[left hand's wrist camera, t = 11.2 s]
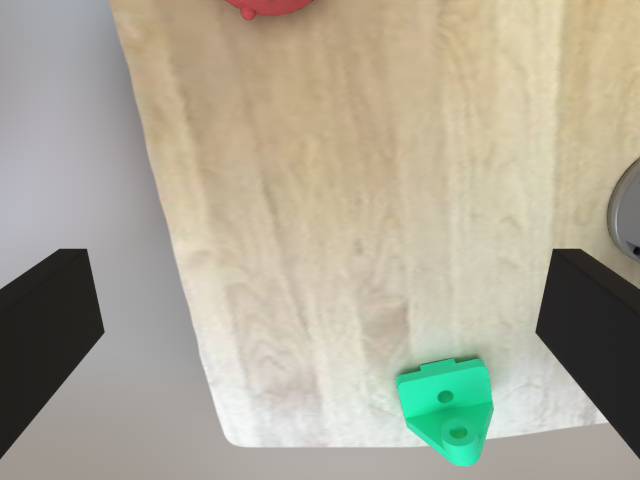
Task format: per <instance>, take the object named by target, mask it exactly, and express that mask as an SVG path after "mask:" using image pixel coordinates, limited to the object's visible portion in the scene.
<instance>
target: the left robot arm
mask: <svg viewBox="0 0 640 480" xmlns="http://www.w3.org/2000/svg"><path fill="white" fill-rule="evenodd" d="M607 221H608V229H609V232H610V235H611V238H612V240H613V241H614V243H615V244H616V246H617V247H618V248H619V249H620V250H621V251H622V252H623V253H625V254H626V255H628V256H629V257H631V258H633V259H634V260H636V261H638V262H639V263H640V159H639V160H637V161H636V162H635V163H634V164H633V165H632V166H631V167H630V168H629V169H628V170H627V172H626V173H625V174H624V175H623V177H622V178H621V179H620V181H619V182H618V184H617V186H616V188H615V190H614V192H613V194H612V197H611V200H610V203H609V207H608V216H607ZM535 333H536V334H537V335H538V336H539V337H540V339H541V340H542V341H543V342H544V344H545V345H546V346H547V347H548V348H549V350H550V351H551V352H552V353H553V354H554V356H555V357H556V358H557V359H558V361H559V362H560V363H561V364H562V365H563V367H564V368H565V369H566V370H567V371H568V373H569V374H570V375H571V376H572V378H573V379H574V380H575V381H576V382H577V384H578V385H579V386H580V387H581V388H582V390H583V391H584V392H585V393H586V395H587V396H588V397H589V398H590V399H591V401H592V402H593V403H594V404H595V405H596V407H597V408H598V409H599V410H600V412H601V413H602V414H603V415H604V416H605V418H606V419H607V420H608V421H609V422H610V424H611V425H612V426H613V427H614V429H615V430H616V431H617V432H618V433H619V435H620V436H621V437H622V438H623V439H624V441H625V442H626V443H627V444H628V446H629V447H630V448H631V449H632V450H633V452H634V453H635V454H636V455H637V456H638V458H639V459H640V289H638V288H637V287H635V286H634V285H633V284H631V283H630V282H628V281H627V280H625V279H624V278H622V277H621V276H619V275H618V274H616V273H615V272H614V271H612V270H611V269H609V268H608V267H606V266H605V265H603V264H602V263H600V262H599V261H597V260H596V259H595V258H593V257H592V256H590V255H589V254H587V253H586V252H584V251H583V250H581V249H553V252H552V256H551V261H550V266H549V271H548V275H547V280H546V285H545V289H544V294H543V299H542V303H541V308H540V313H539V318H538V322H537V327H536V332H535ZM103 334H104V327H103V322H102V318H101V313H100V308H99V304H98V299H97V294H96V289H95V285H94V280H93V275H92V271H91V266H90V261H89V256H88V252H87V249H59V250H57V251H56V252H54V253H53V254H51V255H50V256H48V257H47V258H45V259H44V260H43V261H41V262H40V263H38V264H37V265H35V266H34V267H32V268H31V269H29V270H28V271H27V272H25V273H24V274H22V275H21V276H19V277H18V278H16V279H15V280H13V281H12V282H10V283H9V284H7V285H6V286H5V287H3V288H2V289H0V459H1V458H2V456H3V455H4V454H5V453H6V452H7V450H8V449H9V448H10V447H11V446H12V444H13V443H14V442H15V441H16V439H17V438H18V437H19V436H20V435H21V433H22V432H23V431H24V430H25V428H26V427H27V426H28V425H29V424H30V422H31V421H32V420H33V419H34V418H35V416H36V415H37V414H38V413H39V412H40V410H41V409H42V408H43V407H44V405H45V404H46V403H47V402H48V401H49V399H50V398H51V397H52V396H53V395H54V393H55V392H56V391H57V390H58V388H59V387H60V386H61V385H62V384H63V382H64V381H65V380H66V379H67V378H68V376H69V375H70V374H71V373H72V371H73V370H74V369H75V368H76V367H77V365H78V364H79V363H80V362H81V361H82V359H83V358H84V357H85V356H86V354H87V353H88V352H89V351H90V349H91V348H92V347H93V346H94V345H95V344H96V342H97V341H98V340H99V339H100V337H101V336H102V335H103Z"/></svg>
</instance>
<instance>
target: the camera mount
mask: <svg viewBox="0 0 640 480" xmlns="http://www.w3.org/2000/svg"><path fill="white" fill-rule="evenodd" d="M419 366H420V370H421V371H417V372H412V373H408V374H403V375H400V376H398V377H397V379H396V385H397V389H398V393H399V397H400V401H401V406H402V410H403V414H404V418H405V422H406V426H407V428H409V429H410V430H411V431H412V432H414V433H415V434H416V435H417V436H419V437H420V438H421V439H422V440H424V441H425V442H426V443H427V444H429V445H430V446H431V447H432V448H434V449H435V450H436V451H437V452H439V453H440V454H441V455H442V456H444V457H445V458H446V459H447V460H449V461H450V462H451V463H453V464H455V465H458V466H469V465H472V464H474V463H475V462H477V460H478V459H479V457H480V454H481V451H482V447H483V444H484V441H485V437H486V434H487V431H488V427H489V424H490V421H491V417H492V414H493V410H494V408H493V401H492V395H491V388H490V381H489V375H488V370H487V368H486V366H485V364H484V363H483V361H482V360H480V359H474V360H469V361H464V362H459V363H456V362H455V360H454V358H452V359H447V360H443V361H438V362H433V363H429V364H424V365H419Z"/></svg>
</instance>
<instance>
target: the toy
mask: <svg viewBox="0 0 640 480" xmlns="http://www.w3.org/2000/svg"><path fill="white" fill-rule="evenodd" d="M225 1H227V2H229V3H230V4H232V5H233V6H235V7H237V8H240V9H241V15H242V17H243V18H244V19H246V20H252V19H253V18H254V17H255V15H256V14H259V15H282V14H287V13H291V12H293V11H296V10H298V9H300V8H302V7H304V6H306V5H307V4H309V3H310V2H312V1H313V0H225Z"/></svg>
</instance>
